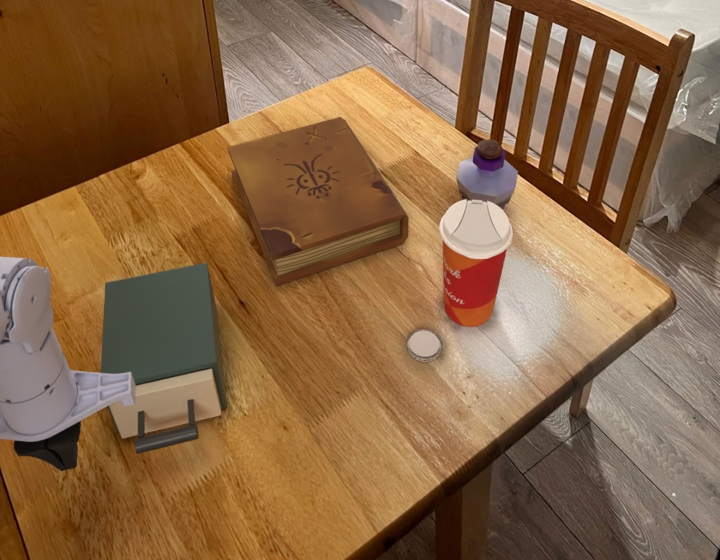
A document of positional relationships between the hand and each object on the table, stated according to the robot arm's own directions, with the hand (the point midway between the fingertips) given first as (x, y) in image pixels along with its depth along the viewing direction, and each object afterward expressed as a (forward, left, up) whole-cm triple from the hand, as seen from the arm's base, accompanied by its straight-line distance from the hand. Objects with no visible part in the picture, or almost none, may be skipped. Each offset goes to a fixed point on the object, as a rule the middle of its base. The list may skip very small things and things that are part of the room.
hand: (69, 458), depth 66 cm
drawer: (+8, +10, -9) cm, 15 cm away
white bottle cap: (+37, +9, -10) cm, 39 cm away
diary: (+29, +35, -10) cm, 46 cm away
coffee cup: (+44, +13, -10) cm, 47 cm away
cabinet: (+8, +14, -9) cm, 19 cm away
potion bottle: (+52, +28, -10) cm, 60 cm away
